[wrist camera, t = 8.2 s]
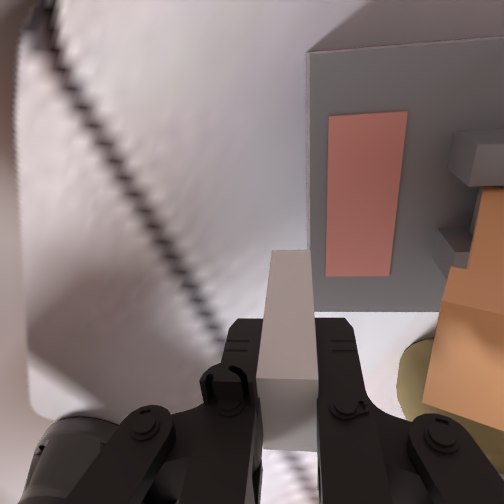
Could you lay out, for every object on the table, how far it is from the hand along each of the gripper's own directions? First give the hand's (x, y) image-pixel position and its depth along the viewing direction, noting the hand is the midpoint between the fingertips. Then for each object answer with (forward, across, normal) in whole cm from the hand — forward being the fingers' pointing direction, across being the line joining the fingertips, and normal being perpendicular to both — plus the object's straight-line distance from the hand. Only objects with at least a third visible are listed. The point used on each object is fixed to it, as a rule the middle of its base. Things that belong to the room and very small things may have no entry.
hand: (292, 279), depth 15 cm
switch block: (+17, +11, 0) cm, 20 cm away
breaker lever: (+8, +11, 0) cm, 14 cm away
